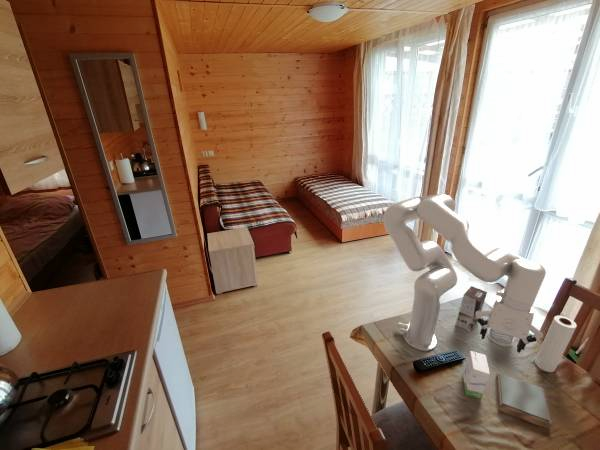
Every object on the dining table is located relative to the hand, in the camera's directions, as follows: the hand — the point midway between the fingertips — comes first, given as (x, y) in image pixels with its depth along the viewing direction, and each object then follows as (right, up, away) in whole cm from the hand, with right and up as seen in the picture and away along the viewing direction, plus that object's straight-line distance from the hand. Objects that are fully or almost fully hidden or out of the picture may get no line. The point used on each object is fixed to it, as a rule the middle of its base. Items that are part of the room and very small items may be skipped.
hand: (500, 342), depth 94 cm
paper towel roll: (+27, -15, +16) cm, 35 cm away
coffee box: (+9, -6, +36) cm, 37 cm away
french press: (+19, -9, +28) cm, 35 cm away
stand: (+8, -20, +3) cm, 22 cm away
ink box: (-4, -18, +8) cm, 21 cm away
